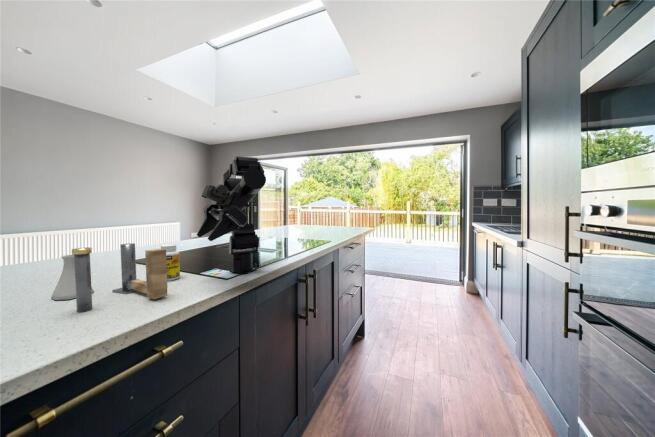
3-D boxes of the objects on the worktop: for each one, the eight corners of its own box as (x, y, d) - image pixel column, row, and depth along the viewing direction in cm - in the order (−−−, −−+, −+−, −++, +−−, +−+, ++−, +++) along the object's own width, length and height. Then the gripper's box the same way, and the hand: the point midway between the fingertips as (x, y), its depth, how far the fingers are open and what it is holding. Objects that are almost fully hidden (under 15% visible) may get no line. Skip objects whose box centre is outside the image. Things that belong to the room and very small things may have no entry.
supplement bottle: (160, 282, 73) (159, 247, 73) (156, 278, 77) (155, 245, 77) (182, 278, 77) (181, 245, 77) (177, 275, 81) (176, 243, 81)
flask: (67, 302, 59) (65, 258, 58) (43, 300, 60) (40, 257, 60) (101, 291, 66) (99, 253, 65) (78, 290, 67) (76, 252, 67)
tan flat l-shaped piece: (127, 291, 65) (125, 247, 64) (141, 287, 67) (139, 246, 67) (154, 299, 59) (152, 251, 58) (167, 295, 61) (166, 249, 61)
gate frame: (132, 286, 70) (130, 238, 70) (155, 288, 68) (153, 239, 67) (54, 309, 55) (51, 248, 54) (81, 313, 52) (77, 250, 52)
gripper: (209, 177, 77) (169, 216, 71) (234, 172, 64) (187, 220, 57) (236, 202, 83) (201, 240, 77) (264, 203, 70) (225, 250, 63)
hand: (203, 238), depth 68 cm, fingers open, 9 cm apart
